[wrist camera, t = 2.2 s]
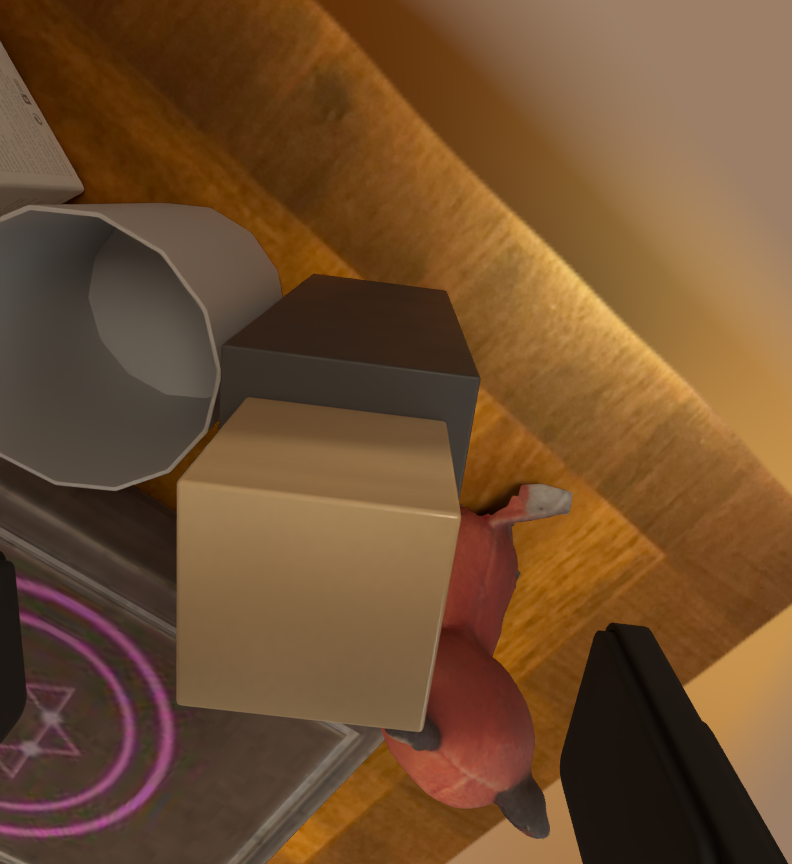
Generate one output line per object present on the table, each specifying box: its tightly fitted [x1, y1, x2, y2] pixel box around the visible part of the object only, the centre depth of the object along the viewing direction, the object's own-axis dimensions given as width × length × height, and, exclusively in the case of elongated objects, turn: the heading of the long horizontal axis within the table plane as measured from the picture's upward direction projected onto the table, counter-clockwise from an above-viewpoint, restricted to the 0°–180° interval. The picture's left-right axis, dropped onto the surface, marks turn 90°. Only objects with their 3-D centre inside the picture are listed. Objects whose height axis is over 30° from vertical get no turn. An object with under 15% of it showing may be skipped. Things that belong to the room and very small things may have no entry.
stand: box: [219, 274, 480, 500], centre depth 22 cm, size 7×6×14 cm
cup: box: [0, 203, 283, 491], centre depth 23 cm, size 8×8×10 cm
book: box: [0, 457, 385, 864], centre depth 32 cm, size 30×22×5 cm
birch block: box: [176, 397, 461, 732], centre depth 13 cm, size 5×5×5 cm
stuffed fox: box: [381, 484, 572, 839], centre depth 26 cm, size 8×11×12 cm
